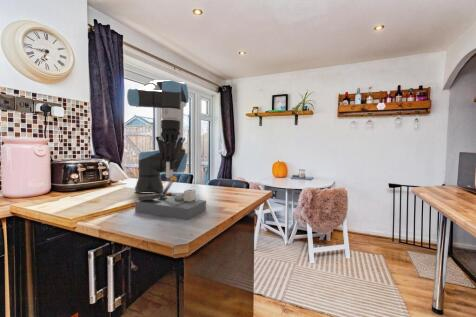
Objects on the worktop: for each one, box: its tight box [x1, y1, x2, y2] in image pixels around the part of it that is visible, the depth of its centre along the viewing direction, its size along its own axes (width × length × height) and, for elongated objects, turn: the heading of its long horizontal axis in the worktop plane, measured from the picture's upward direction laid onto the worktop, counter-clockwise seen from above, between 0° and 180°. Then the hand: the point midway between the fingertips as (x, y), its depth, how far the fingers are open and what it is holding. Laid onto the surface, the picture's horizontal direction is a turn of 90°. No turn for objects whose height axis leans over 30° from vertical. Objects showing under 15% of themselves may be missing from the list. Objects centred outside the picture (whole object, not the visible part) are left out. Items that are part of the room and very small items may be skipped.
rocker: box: [137, 192, 162, 201], centre depth 96 cm, size 5×7×2 cm
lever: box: [160, 175, 178, 198], centre depth 99 cm, size 3×3×11 cm
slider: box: [183, 189, 196, 202], centre depth 98 cm, size 4×3×4 cm
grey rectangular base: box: [134, 193, 207, 221], centre depth 96 cm, size 14×24×6 cm, turn 70°
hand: (169, 177), depth 98 cm, fingers closed
